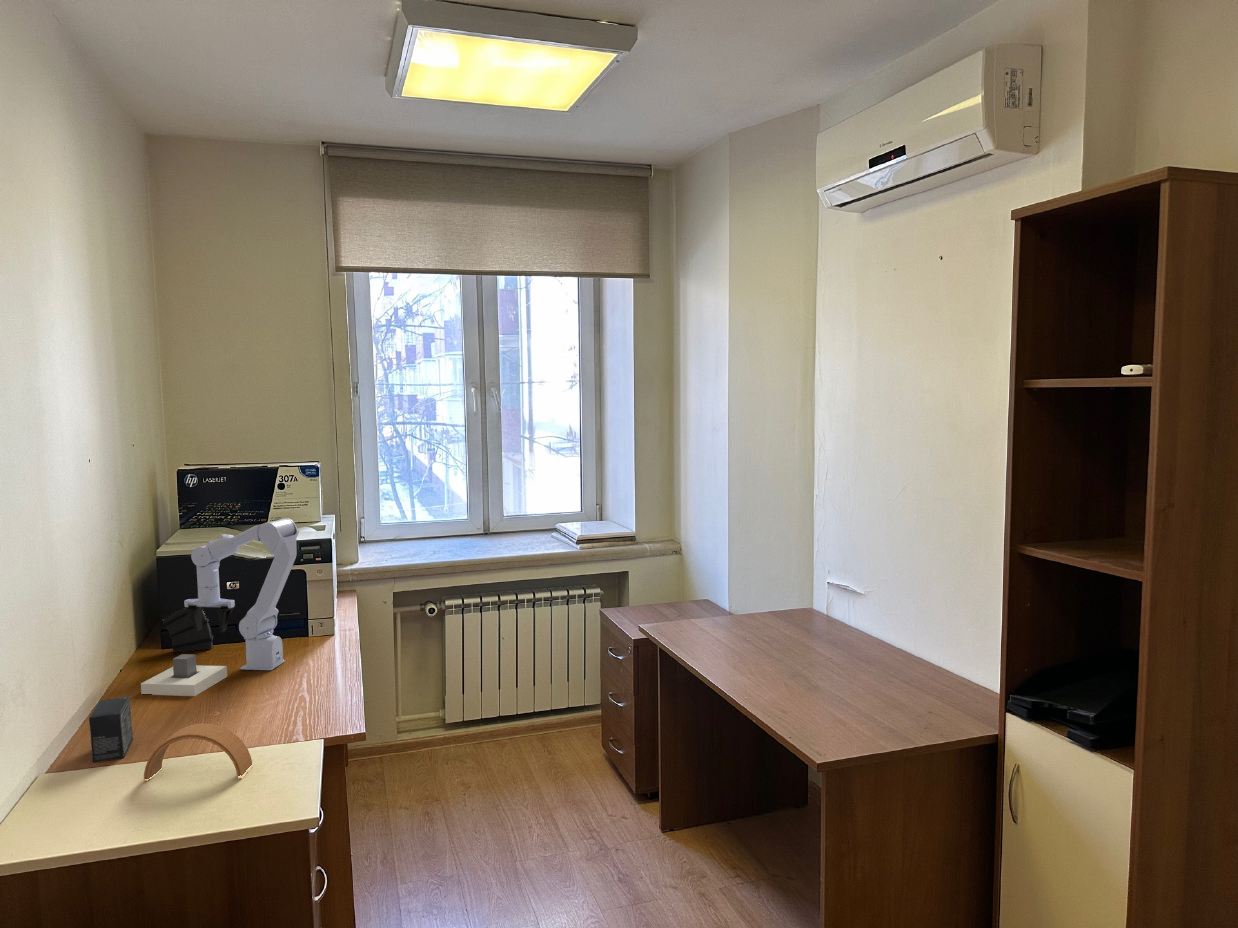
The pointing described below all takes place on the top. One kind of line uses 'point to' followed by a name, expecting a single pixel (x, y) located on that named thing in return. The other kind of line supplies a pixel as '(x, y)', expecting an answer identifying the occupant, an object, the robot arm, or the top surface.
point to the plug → (184, 666)
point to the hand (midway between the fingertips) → (211, 630)
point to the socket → (184, 682)
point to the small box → (111, 729)
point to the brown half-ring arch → (208, 733)
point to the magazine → (188, 632)
